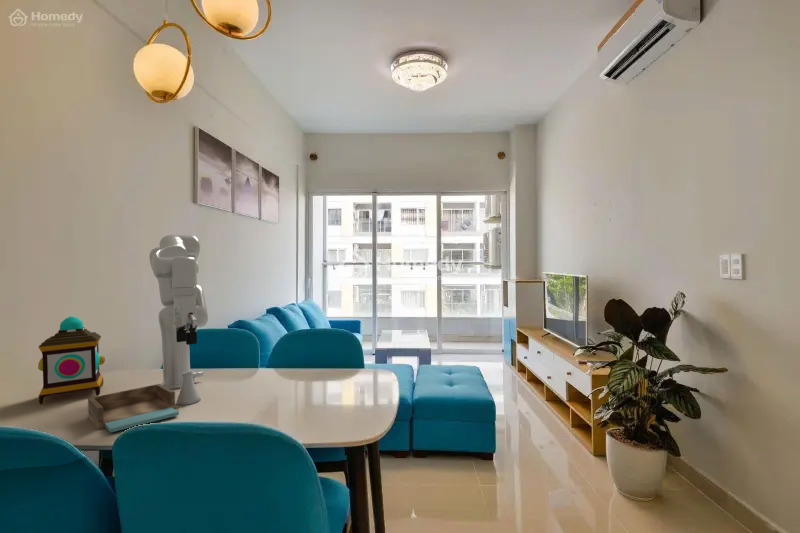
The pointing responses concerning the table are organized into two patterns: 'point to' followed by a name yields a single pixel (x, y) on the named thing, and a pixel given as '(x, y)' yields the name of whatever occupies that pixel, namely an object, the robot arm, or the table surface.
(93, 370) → the decorative lantern
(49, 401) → the table surface
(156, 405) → the crate
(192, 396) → the flask
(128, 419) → the teal panel
